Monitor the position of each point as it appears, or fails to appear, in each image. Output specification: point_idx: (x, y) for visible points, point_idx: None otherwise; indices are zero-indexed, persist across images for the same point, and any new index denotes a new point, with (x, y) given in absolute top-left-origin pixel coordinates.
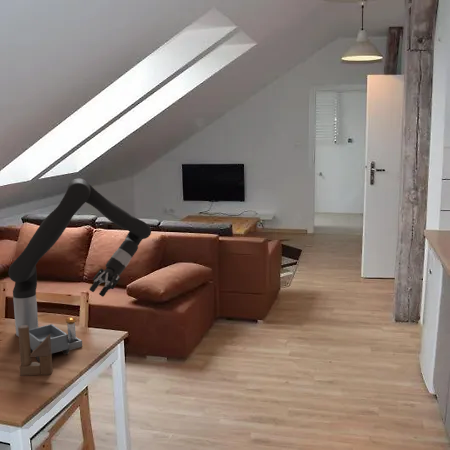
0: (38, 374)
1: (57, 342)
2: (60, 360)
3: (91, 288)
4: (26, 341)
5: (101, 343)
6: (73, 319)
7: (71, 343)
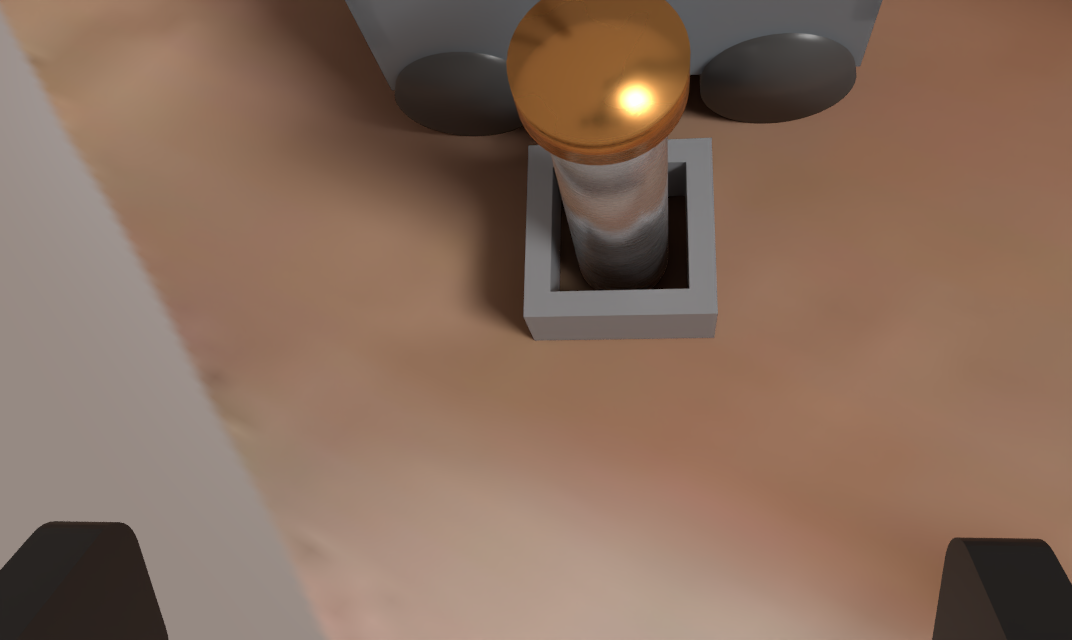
0: None
1: None
2: None
3: (971, 609)
4: None
5: (451, 569)
6: (529, 77)
7: (531, 182)
